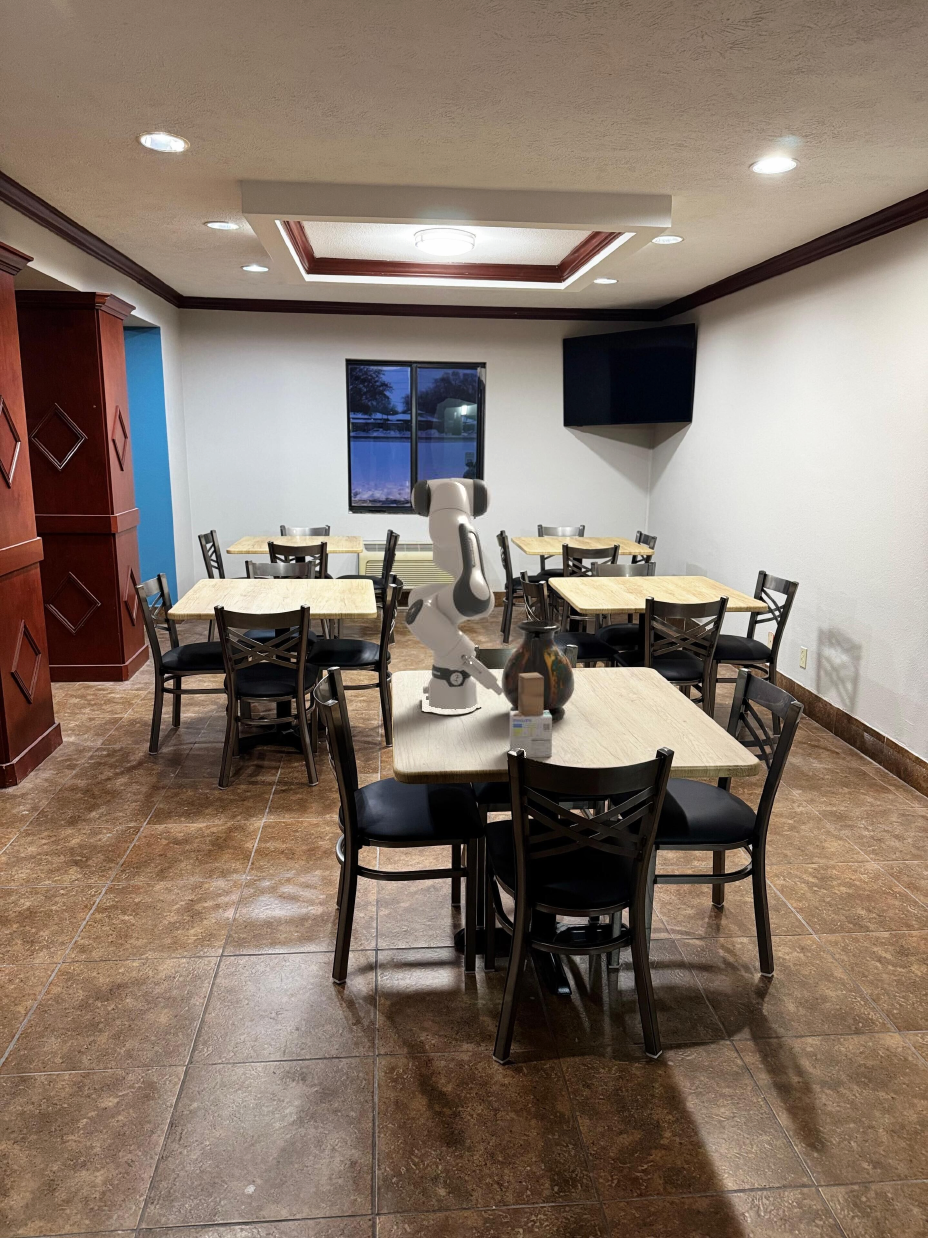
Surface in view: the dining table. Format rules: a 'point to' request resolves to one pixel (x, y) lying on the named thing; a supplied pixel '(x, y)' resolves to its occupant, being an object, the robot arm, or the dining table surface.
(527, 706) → the walnut block
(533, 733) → the light bulb box
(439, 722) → the dining table surface
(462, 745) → the dining table surface
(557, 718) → the dark painted vase
